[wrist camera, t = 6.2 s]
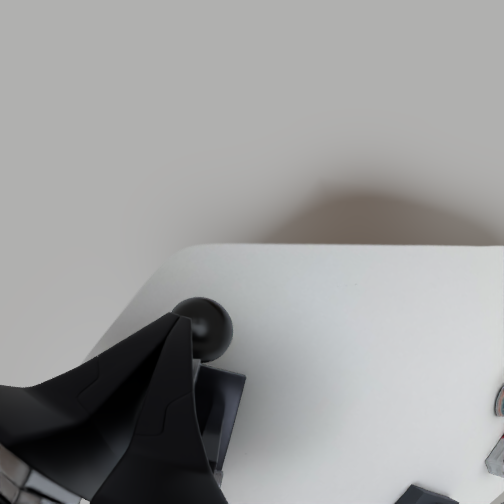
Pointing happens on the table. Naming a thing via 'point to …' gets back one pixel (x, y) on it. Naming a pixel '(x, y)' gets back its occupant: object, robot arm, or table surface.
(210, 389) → the switch bracket
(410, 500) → the stop housing
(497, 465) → the ink box
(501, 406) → the beer can
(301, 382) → the table surface
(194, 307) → the switch lever
